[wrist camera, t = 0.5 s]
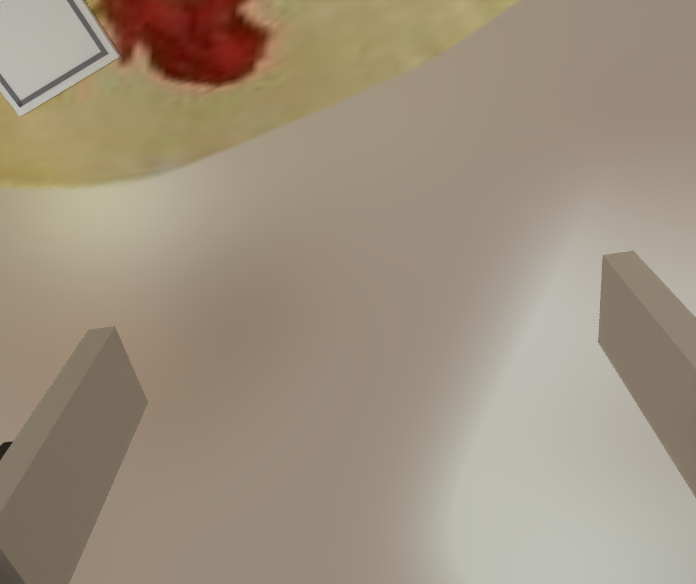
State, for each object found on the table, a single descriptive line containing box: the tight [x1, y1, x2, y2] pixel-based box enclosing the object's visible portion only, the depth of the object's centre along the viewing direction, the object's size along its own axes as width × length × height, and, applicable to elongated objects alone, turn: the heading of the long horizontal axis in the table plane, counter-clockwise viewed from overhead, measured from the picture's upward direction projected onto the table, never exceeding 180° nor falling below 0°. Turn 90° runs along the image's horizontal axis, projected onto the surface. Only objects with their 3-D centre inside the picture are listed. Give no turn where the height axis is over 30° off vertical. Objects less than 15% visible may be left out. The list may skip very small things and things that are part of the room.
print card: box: [0, 0, 121, 117], centre depth 36 cm, size 8×8×1 cm
